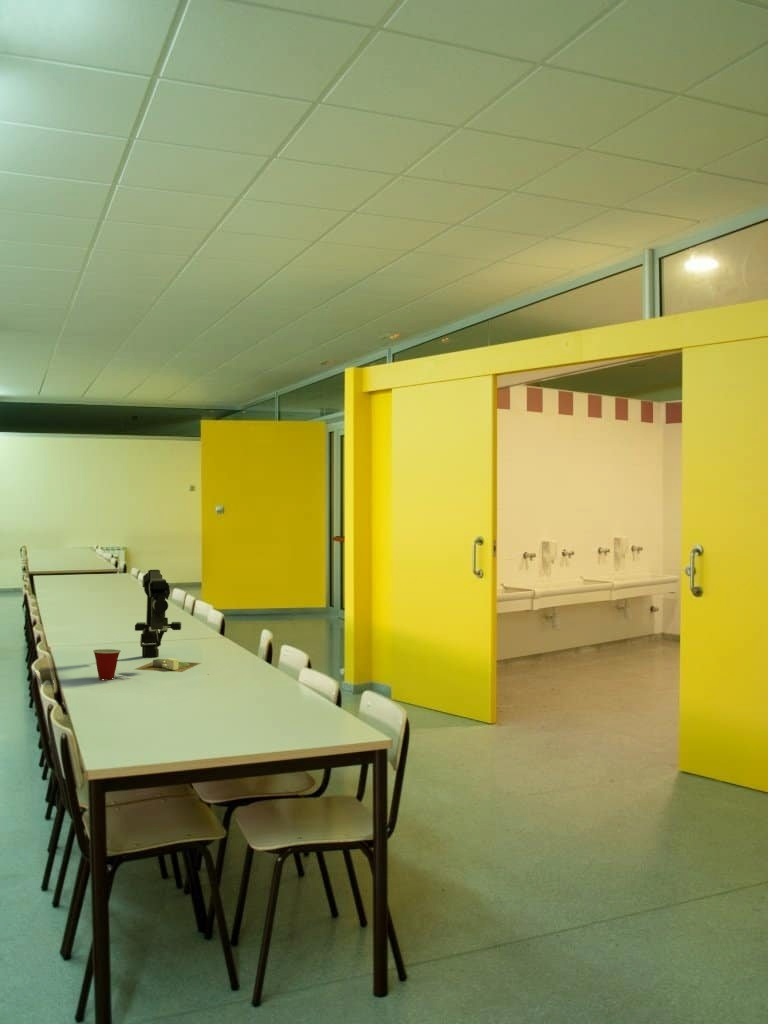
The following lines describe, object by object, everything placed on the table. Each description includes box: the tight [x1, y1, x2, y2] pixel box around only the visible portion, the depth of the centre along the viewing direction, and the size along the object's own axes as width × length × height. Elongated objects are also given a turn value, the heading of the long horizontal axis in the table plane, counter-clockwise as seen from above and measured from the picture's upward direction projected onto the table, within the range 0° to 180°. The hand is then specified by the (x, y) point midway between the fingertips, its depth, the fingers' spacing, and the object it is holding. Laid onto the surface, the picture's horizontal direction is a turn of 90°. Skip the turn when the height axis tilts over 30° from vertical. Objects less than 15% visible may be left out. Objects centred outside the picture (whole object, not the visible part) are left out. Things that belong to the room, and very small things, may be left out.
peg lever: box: [152, 657, 179, 670], centre depth 370 cm, size 15×6×4 cm, turn 48°
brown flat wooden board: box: [135, 661, 202, 673], centre depth 374 cm, size 22×20×1 cm
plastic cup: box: [93, 648, 122, 681], centre depth 353 cm, size 11×11×12 cm
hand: (158, 646), depth 363 cm, fingers closed
